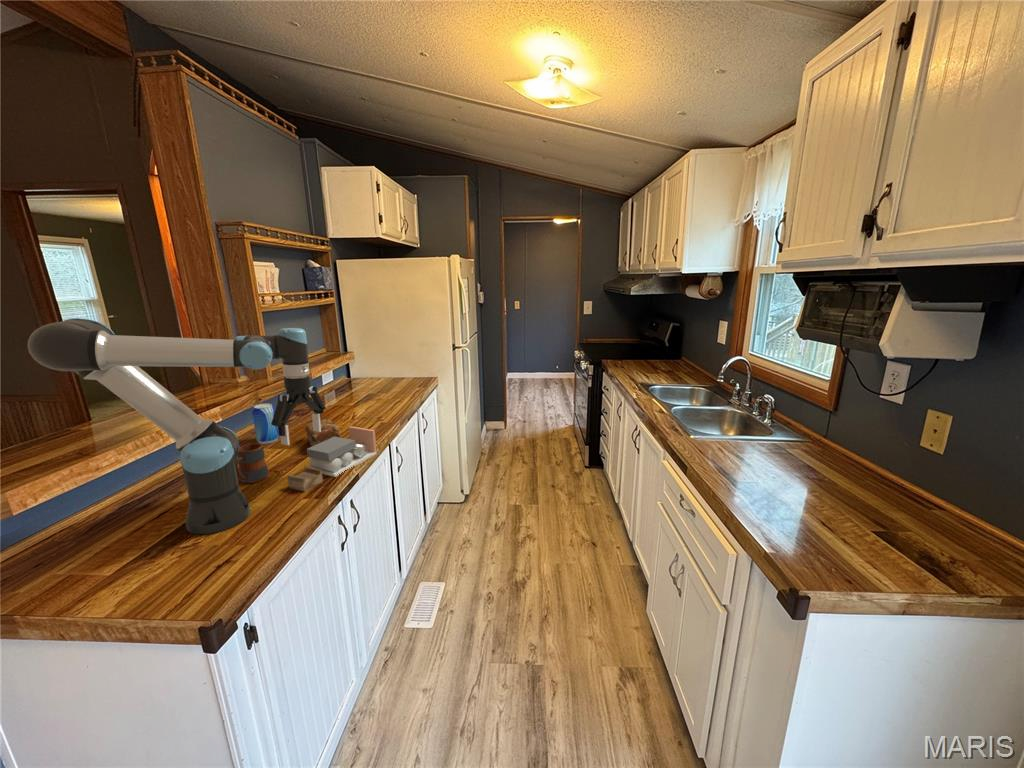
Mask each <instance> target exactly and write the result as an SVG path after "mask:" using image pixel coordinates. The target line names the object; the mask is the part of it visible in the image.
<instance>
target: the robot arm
mask: <svg viewBox="0 0 1024 768" xmlns="http://www.w3.org/2000/svg"><path fill="white" fill-rule="evenodd" d="M27 349H28V353H29V355H30V356H31V357H32V359H33V360H35V361H36V362H37V363H38V364H40V365H41V366H43V367H45V368H48V369H51V370H55V371H60V372H74V373H75V374H77V375H78V376H80V377H81V378H82V379H83V380H91V381H93V380H95V381H97V382H98V383H100V384H101V385H102V386H103V387H106V389H108V390H109V391H110V392H112V393H113V394H114V395H116V396H117V398H118V397H119V398H120V400H122V401H124V403H126V404H128V405H129V407H131V408H133V409H135V411H136V412H138V413H139V414H140V415H142V416H143V417H144V418H146V419H147V420H149V422H152V423H153V425H155V426H156V427H158V428H159V429H160V430H161V431H163V432H164V433H165V434H167V435H168V436H169V437H171V438H172V439H173V440H174V441H175V449H177V450H178V451H179V452H180V459H179V460H180V461H179V463H180V465H181V467H182V471H183V476H184V477H183V478H184V481H185V487H186V491H187V495H188V501H189V502H188V507H187V511H186V517H185V528H186V530H187V531H188V533H190V534H194V535H209V534H215V533H216V534H217V533H219V532H224V531H225V530H229V529H232V528H233V527H236V526H237V525H239V524H241V523H243V522H244V521H245V520H246V519H247V518H248V517H249V516H250V514H251V507H250V503H249V501H248V500H247V498H246V496H245V495H244V493H243V492H242V490H241V489H240V484H239V478H238V477H237V472H236V459H237V454H238V451H239V447H240V442H239V439H238V436H237V435H236V433H235V432H234V431H233V430H231V429H230V428H228V427H225V426H221V425H219V424H218V423H217V422H216V421H215V420H213V419H204V418H202V417H200V416H199V415H198V414H197V413H196V412H195V411H193V410H192V409H191V408H190V407H188V406H187V405H186V404H185V403H183V402H182V400H180V399H179V398H177V397H176V395H174V394H172V392H170V391H169V390H168V389H167V388H166V387H164V386H163V385H162V384H161V383H159V382H158V381H156V380H155V379H154V378H153V377H151V376H150V375H149V374H148V373H147V372H146V371H145V370H143V369H142V368H141V367H185V368H187V367H198V368H199V367H201V368H203V367H204V368H205V367H206V368H208V367H209V368H210V367H212V368H215V367H218V368H226V367H227V368H228V367H229V368H230V367H231V368H248V369H250V370H254V371H255V370H262V369H265V368H266V367H267V366H269V365H270V364H271V362H272V360H280V359H281V362H282V364H281V365H282V371H283V372H282V373H283V376H284V378H283V385H284V389H285V390H286V393H285V394H280V393H279V394H278V395H277V404H276V407H275V413H274V416H273V420H272V423H271V424H272V425H274V426H278V433H279V438H280V443H281V445H284V446H290V445H291V444H290V432H289V425H287V423H288V421H289V419H290V417H291V415H292V413H293V411H294V409H295V408H297V406H299V405H302V404H305V405H307V407H308V408H309V409H310V410H312V411H313V412H312V413H311V417H312V419H311V421H313V431H316V432H321V423H320V421H321V419H322V414H324V411H325V410H326V406H325V404H324V402H323V400H322V398H321V396H320V394H319V393H318V389H317V386H313V385H311V377H310V367H309V366H310V363H309V350H308V338H307V332H306V330H305V329H303V328H301V327H289V328H288V327H284V328H283V327H282V328H280V329H279V333H278V334H276V335H275V334H274V335H272V334H271V335H249V334H247V335H238V336H236V337H235V338H234V339H222V338H221V339H220V338H197V337H196V338H195V337H172V336H171V337H167V336H166V337H165V336H147V335H145V336H143V335H141V336H139V335H137V336H136V335H121V334H119V335H117V334H115V333H114V331H113V330H112V329H111V328H110V327H108V326H107V325H106V324H104V323H102V322H100V321H98V320H97V321H96V320H94V319H89V318H79V317H77V318H68V319H64V320H62V321H57V322H52V323H47V324H44V325H42V326H39V327H38V328H36V329H35V330H34V331H33V332H32V333H31V334H30V336H29V338H28V341H27ZM276 421H277V422H276Z"/></svg>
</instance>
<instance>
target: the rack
mask: <svg viewBox="0 0 1024 768" xmlns="http://www.w3.org/2000/svg"><path fill="white" fill-rule="evenodd" d="M303 469H304V471H302V472H300V473H298V474H296V475H295V474H294V475H292V474H287V476H286V477H287V483H288V488H289V489H293V490H297V491H302V492H307V491H309V490H310V489H312V488H314V487H317V485H319V484H321V483H322V482H324V480H323V474H322V470H321V469H317V468H312V467H311V466H307V465H306V466H304V468H303Z"/></svg>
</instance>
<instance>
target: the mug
mask: <svg viewBox="0 0 1024 768" xmlns="http://www.w3.org/2000/svg"><path fill="white" fill-rule="evenodd" d="M265 457H266V454H265V451H264V444H260V443H259V442H254V443H247V444H244V445H241V446H239V451H238V454H237V459H236V472H237V478H238V480H240V481H241V482H242V483H243V484H254V483H259V482H261V481H263V480H265V479H266V478H267V477H268V476H269V469H268V465H267V462H266V459H265ZM240 481H239V482H240Z"/></svg>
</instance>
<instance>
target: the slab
mask: <svg viewBox="0 0 1024 768" xmlns="http://www.w3.org/2000/svg"><path fill="white" fill-rule="evenodd" d="M354 448H356V445H355V440H351V439H350V438H345V437H344V438H343V437H341V436H340V437H332V438H330V439H328V440H326V441H323V442H321V443H319V444H317V445H314V446H311V447H308V448H306V453H307V455H306V456H307V457H308V458H310V459H311V458H316V459H321V460H325V461H331V460H333V459H335V458H337V457H339V456H341V455H342V454H344V453H346V452H348V451H350V450H352V449H354Z"/></svg>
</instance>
